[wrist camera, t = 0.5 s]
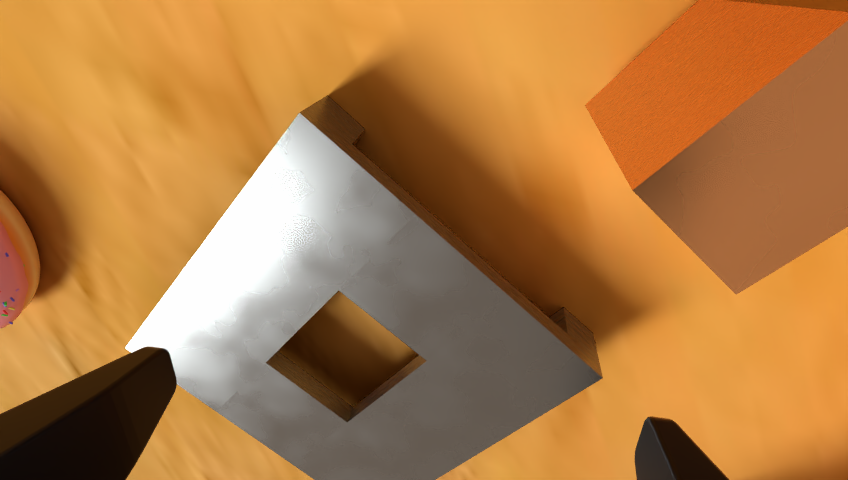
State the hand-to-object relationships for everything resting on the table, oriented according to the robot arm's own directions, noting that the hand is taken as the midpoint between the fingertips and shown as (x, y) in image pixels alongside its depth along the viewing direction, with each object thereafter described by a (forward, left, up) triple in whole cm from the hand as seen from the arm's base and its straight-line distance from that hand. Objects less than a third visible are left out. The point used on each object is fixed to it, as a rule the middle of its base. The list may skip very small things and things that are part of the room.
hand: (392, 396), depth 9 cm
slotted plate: (-2, +10, -13) cm, 16 cm away
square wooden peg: (-3, -7, -13) cm, 15 cm away
